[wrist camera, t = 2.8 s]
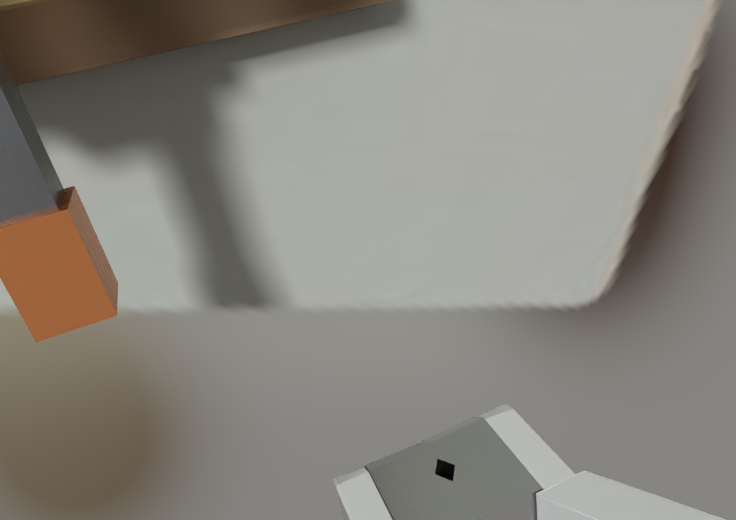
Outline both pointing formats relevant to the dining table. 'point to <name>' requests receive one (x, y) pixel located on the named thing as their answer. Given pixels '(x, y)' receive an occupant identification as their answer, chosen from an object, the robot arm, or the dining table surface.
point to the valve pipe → (19, 3)
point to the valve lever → (46, 232)
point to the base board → (136, 29)
